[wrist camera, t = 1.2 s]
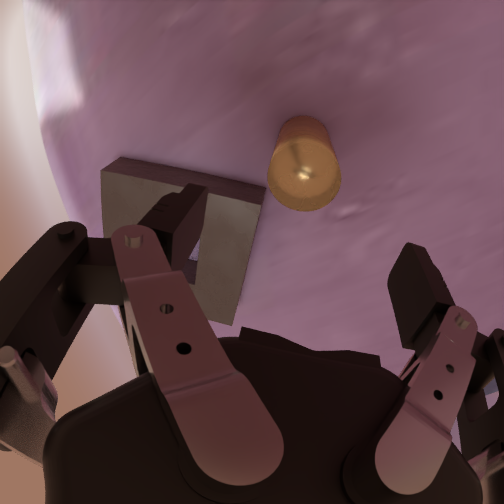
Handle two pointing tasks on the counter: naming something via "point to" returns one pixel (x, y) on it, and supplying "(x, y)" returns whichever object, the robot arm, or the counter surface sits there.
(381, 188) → the counter surface
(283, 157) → the pipe stub
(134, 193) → the block
